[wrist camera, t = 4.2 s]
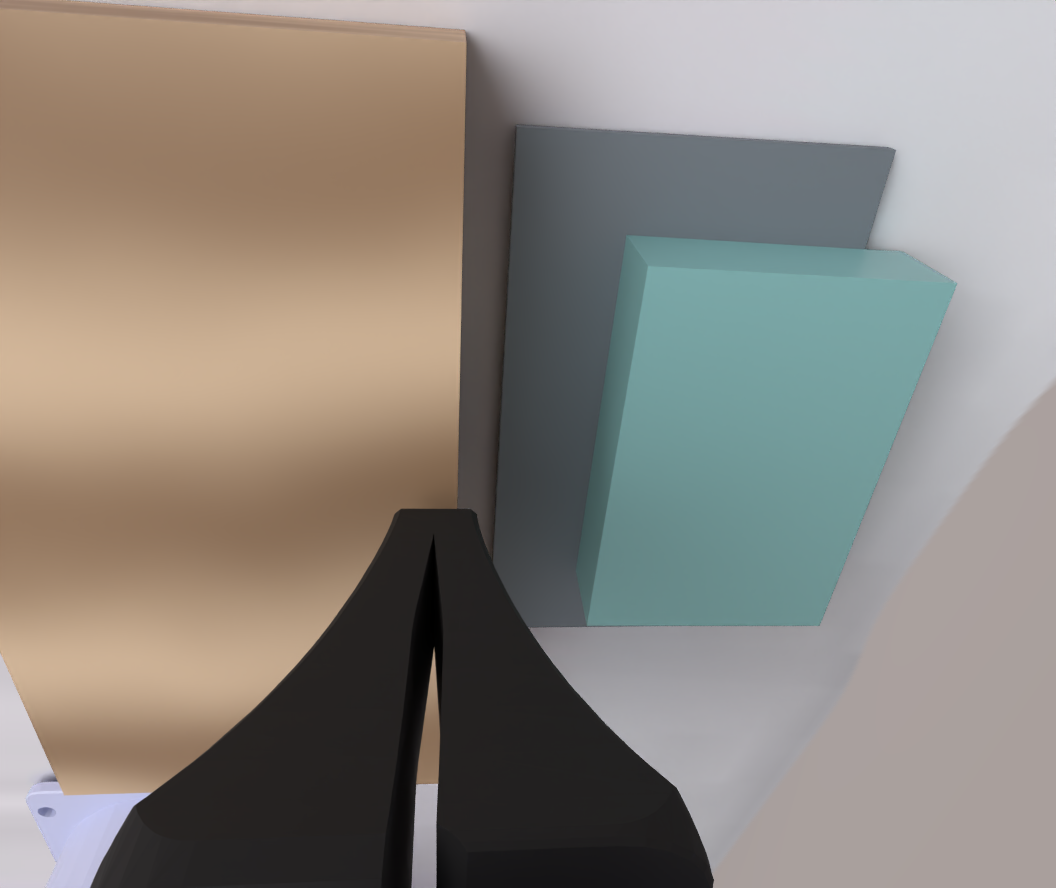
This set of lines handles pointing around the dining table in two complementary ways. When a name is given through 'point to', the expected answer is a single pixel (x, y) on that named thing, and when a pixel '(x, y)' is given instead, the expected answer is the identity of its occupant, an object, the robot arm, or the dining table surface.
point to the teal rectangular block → (746, 425)
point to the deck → (213, 356)
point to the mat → (591, 294)
